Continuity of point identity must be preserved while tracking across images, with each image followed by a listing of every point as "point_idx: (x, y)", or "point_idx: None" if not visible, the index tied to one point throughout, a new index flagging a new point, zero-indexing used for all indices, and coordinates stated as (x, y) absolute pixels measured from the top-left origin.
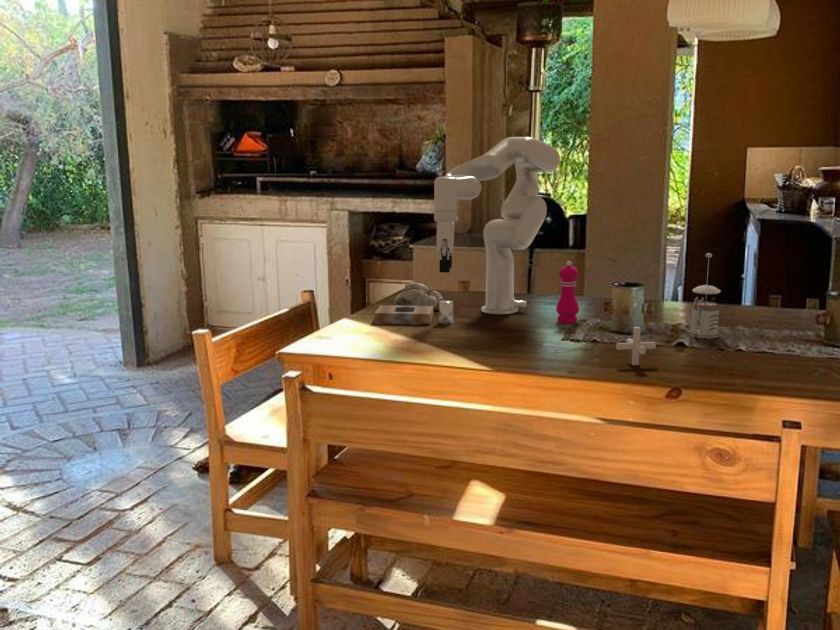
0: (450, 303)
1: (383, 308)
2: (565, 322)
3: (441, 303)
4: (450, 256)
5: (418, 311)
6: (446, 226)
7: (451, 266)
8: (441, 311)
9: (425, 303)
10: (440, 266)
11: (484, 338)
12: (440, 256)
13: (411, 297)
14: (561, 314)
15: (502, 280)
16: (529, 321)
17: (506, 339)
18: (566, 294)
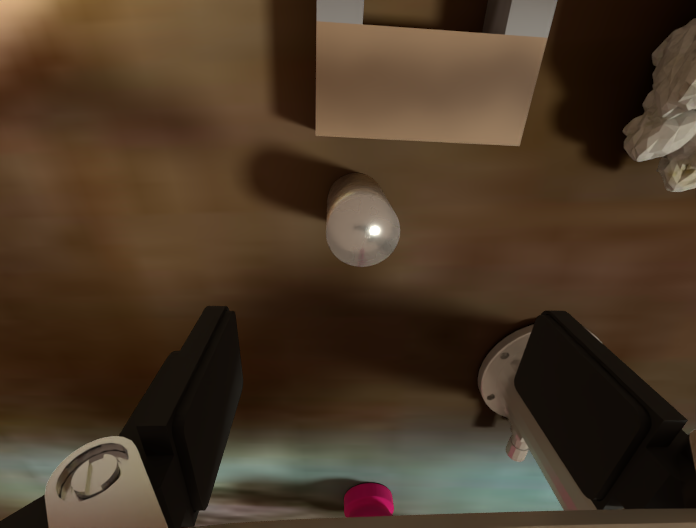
0: (334, 253)
1: None
2: (345, 498)
3: (336, 207)
4: (593, 495)
5: (381, 62)
6: None
7: (523, 394)
8: (334, 196)
9: (654, 92)
10: (183, 355)
11: (122, 331)
12: (50, 509)
13: None
14: (353, 513)
15: (559, 491)
16: (379, 433)
17: (130, 384)
18: None
